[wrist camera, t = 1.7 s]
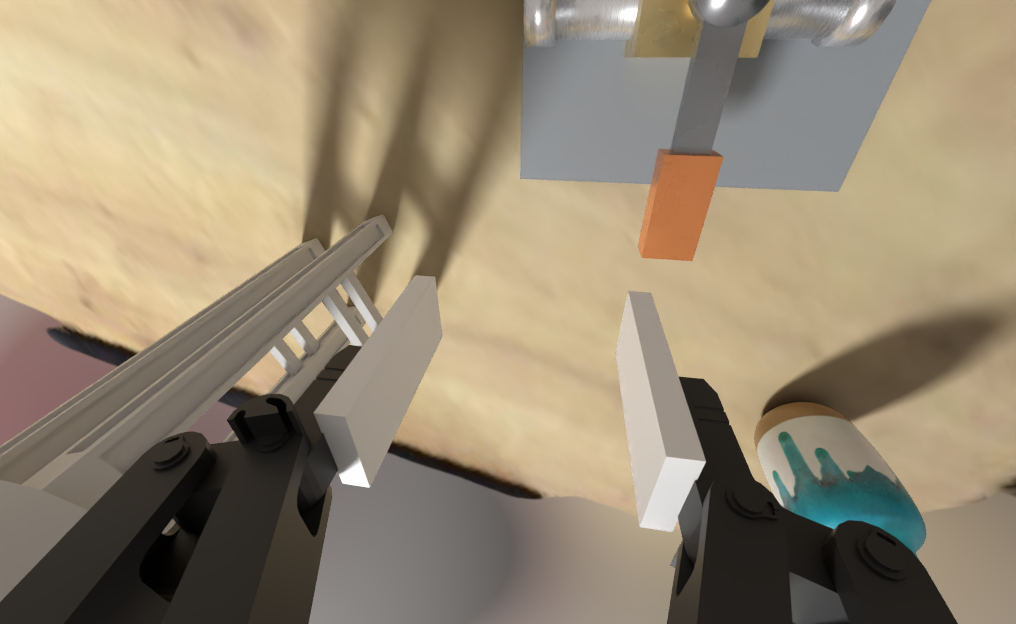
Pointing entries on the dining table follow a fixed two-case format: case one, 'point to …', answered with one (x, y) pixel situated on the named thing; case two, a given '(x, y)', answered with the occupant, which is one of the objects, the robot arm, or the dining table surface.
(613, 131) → the valve board
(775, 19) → the valve pipe
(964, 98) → the dining table surface
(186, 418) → the stool
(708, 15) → the valve lever
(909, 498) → the vase
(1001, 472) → the dining table surface
